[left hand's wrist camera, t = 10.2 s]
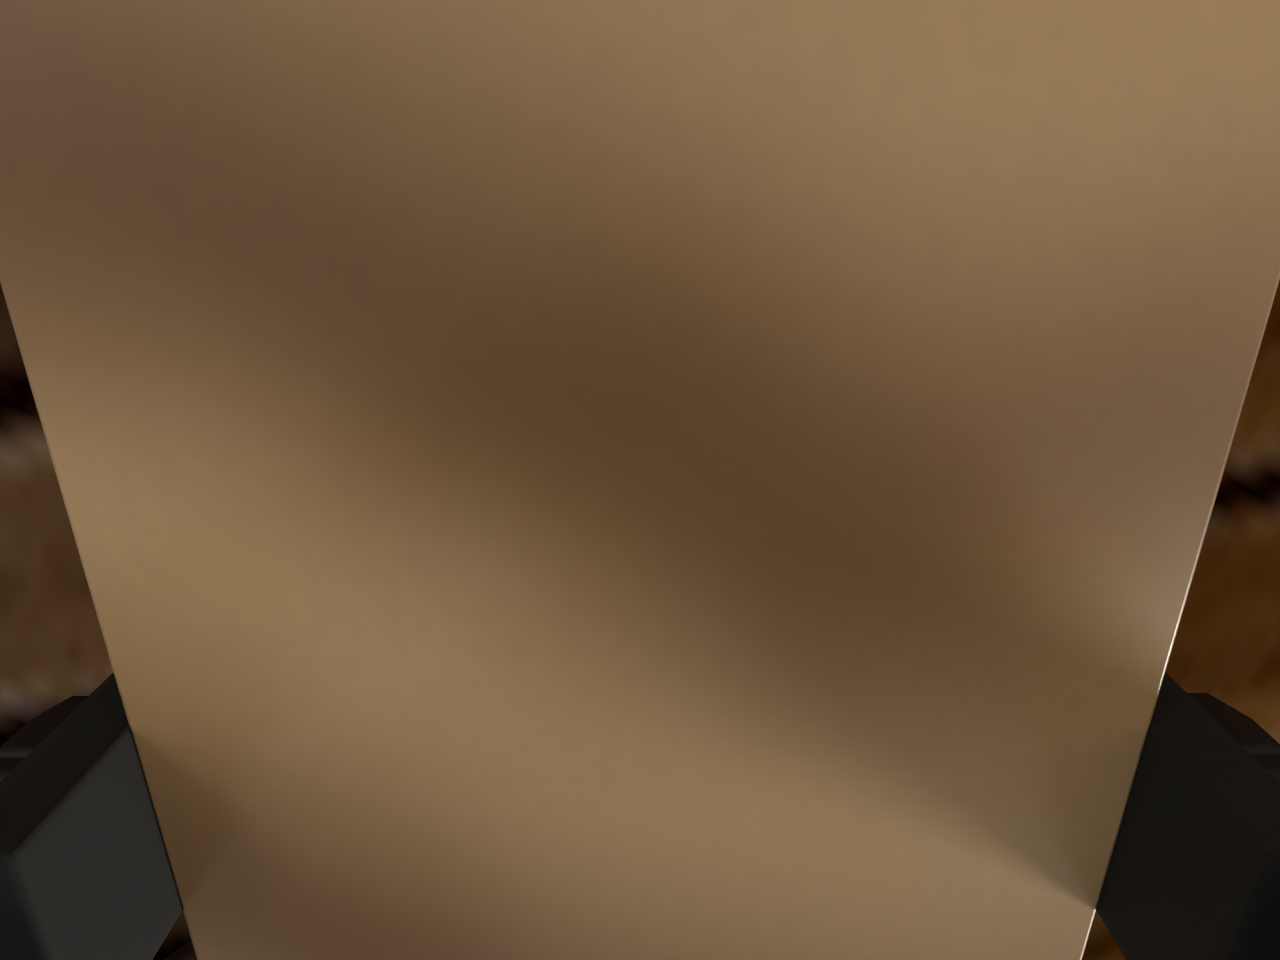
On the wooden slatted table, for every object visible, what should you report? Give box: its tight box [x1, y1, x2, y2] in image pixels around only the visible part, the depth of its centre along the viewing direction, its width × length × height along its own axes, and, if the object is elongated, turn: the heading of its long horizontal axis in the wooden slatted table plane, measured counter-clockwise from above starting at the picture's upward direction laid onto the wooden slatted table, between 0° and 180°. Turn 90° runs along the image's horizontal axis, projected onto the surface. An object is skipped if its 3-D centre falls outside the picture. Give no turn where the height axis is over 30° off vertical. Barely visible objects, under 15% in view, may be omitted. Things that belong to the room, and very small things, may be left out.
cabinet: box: [0, 0, 1280, 960], centre depth 12 cm, size 19×11×11 cm, turn 0°
